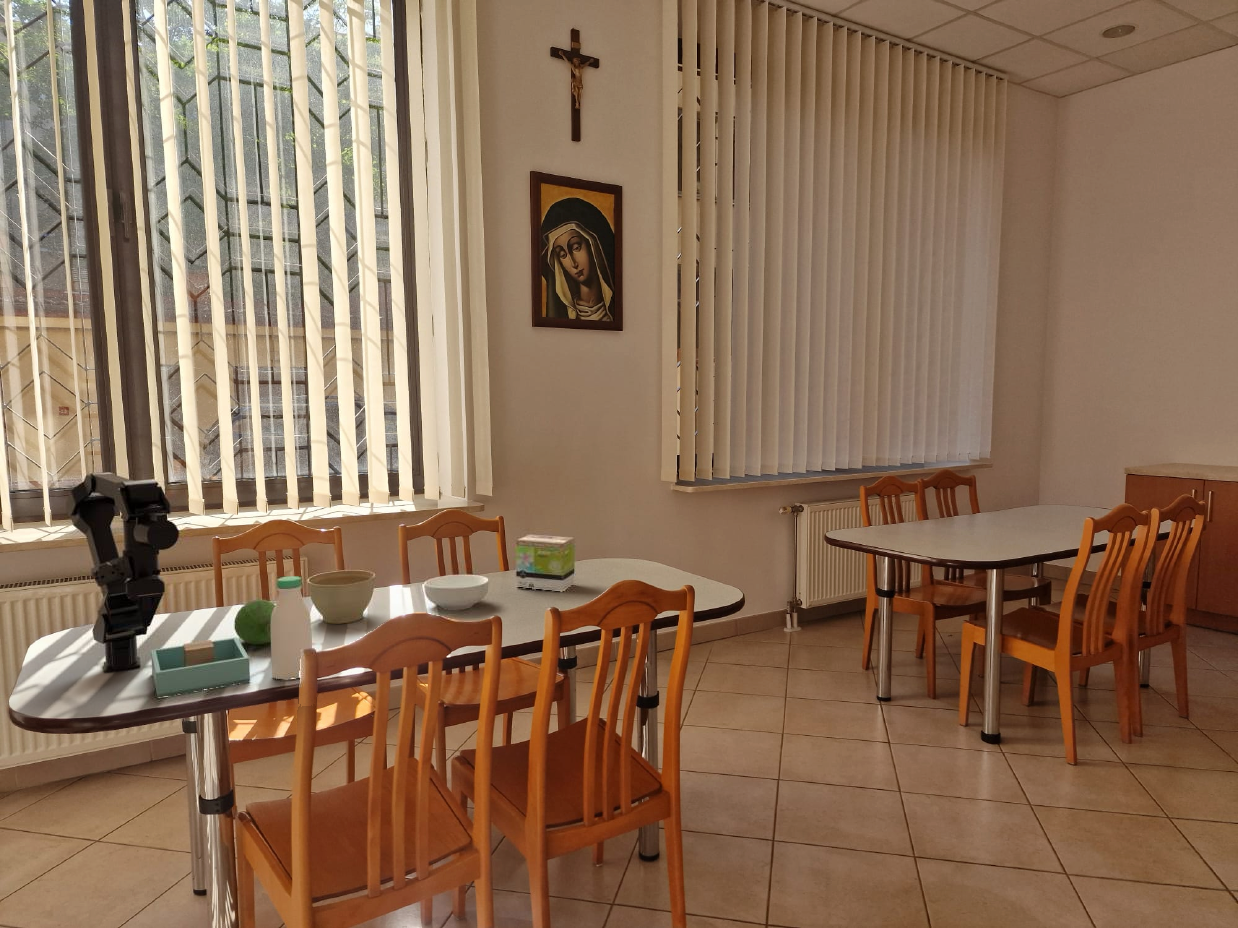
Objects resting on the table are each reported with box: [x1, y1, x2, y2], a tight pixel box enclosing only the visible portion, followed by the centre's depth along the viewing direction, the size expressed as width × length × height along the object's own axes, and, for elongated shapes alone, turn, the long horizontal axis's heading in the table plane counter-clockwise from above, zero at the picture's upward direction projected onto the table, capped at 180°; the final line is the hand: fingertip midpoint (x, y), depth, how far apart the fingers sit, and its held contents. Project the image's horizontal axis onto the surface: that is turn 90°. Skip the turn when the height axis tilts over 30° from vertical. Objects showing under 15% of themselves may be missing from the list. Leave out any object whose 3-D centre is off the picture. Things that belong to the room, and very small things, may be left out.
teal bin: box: [150, 636, 251, 698], centre depth 162 cm, size 16×16×5 cm
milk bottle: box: [270, 575, 313, 680], centre depth 163 cm, size 8×8×20 cm
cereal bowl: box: [423, 574, 490, 611], centre depth 217 cm, size 17×17×7 cm
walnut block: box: [183, 639, 215, 667], centre depth 162 cm, size 5×5×6 cm
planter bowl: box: [307, 569, 376, 625], centre depth 204 cm, size 16×16×11 cm
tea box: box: [515, 533, 575, 590], centre depth 237 cm, size 15×10×15 cm
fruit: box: [233, 599, 276, 646], centre depth 183 cm, size 15×10×10 cm, turn 35°
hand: (145, 620), depth 160 cm, fingers open, 9 cm apart
